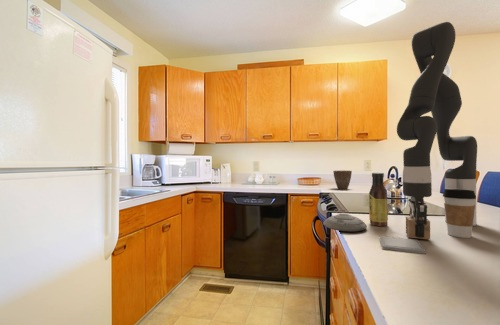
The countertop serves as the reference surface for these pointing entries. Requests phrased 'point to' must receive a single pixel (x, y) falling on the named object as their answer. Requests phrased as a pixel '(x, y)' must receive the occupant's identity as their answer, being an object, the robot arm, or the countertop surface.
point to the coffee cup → (459, 211)
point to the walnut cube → (411, 228)
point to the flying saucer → (344, 223)
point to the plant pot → (342, 179)
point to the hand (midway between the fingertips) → (417, 234)
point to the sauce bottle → (378, 201)
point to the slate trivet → (401, 244)
